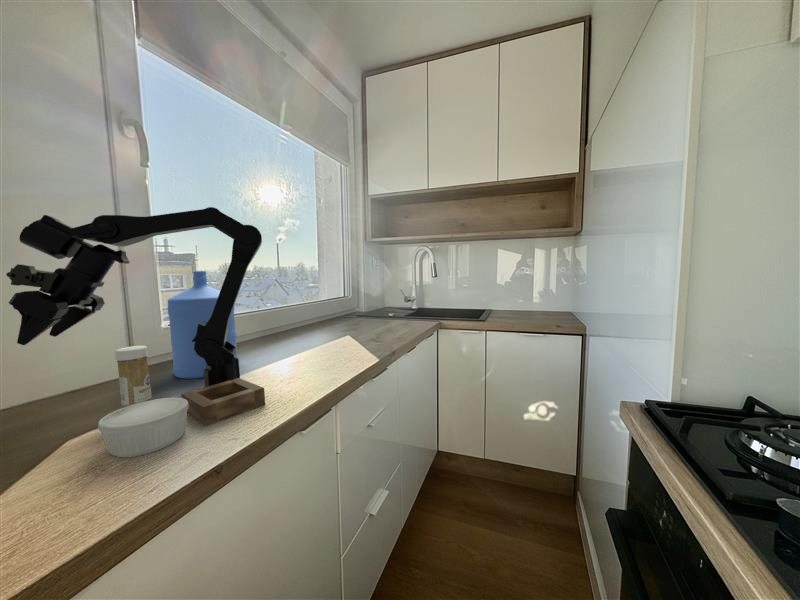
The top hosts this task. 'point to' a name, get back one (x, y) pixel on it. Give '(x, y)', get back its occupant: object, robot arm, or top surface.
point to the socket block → (223, 400)
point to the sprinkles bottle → (133, 375)
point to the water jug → (193, 325)
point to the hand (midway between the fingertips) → (37, 339)
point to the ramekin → (144, 426)
